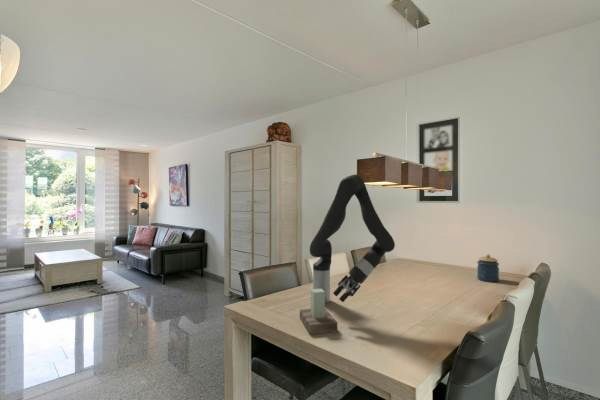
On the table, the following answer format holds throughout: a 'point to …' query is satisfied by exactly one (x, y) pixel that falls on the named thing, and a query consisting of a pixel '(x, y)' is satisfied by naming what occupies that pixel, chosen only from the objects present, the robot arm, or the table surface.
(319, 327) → the walnut base
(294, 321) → the table surface
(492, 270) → the canister
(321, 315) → the sage block
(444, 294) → the table surface
